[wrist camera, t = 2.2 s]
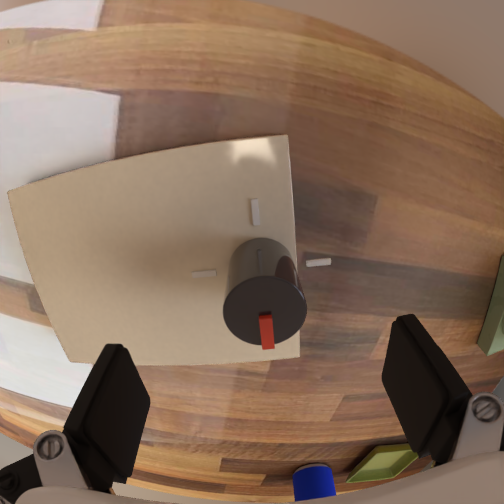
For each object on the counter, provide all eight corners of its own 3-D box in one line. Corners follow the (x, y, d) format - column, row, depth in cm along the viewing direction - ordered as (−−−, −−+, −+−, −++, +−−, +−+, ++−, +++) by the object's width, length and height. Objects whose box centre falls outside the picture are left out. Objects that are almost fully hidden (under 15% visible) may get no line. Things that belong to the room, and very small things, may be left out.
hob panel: (31, 182, 18) (5, 192, 15) (313, 131, 17) (325, 132, 14) (83, 340, 23) (69, 363, 20) (319, 328, 22) (328, 355, 19)
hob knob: (224, 241, 16) (215, 284, 12) (292, 234, 16) (307, 275, 12) (233, 298, 18) (228, 353, 13) (295, 292, 18) (308, 345, 13)
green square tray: (341, 472, 33) (344, 483, 31) (373, 440, 30) (377, 453, 28) (390, 467, 34) (393, 478, 32) (423, 436, 30) (428, 447, 29)
